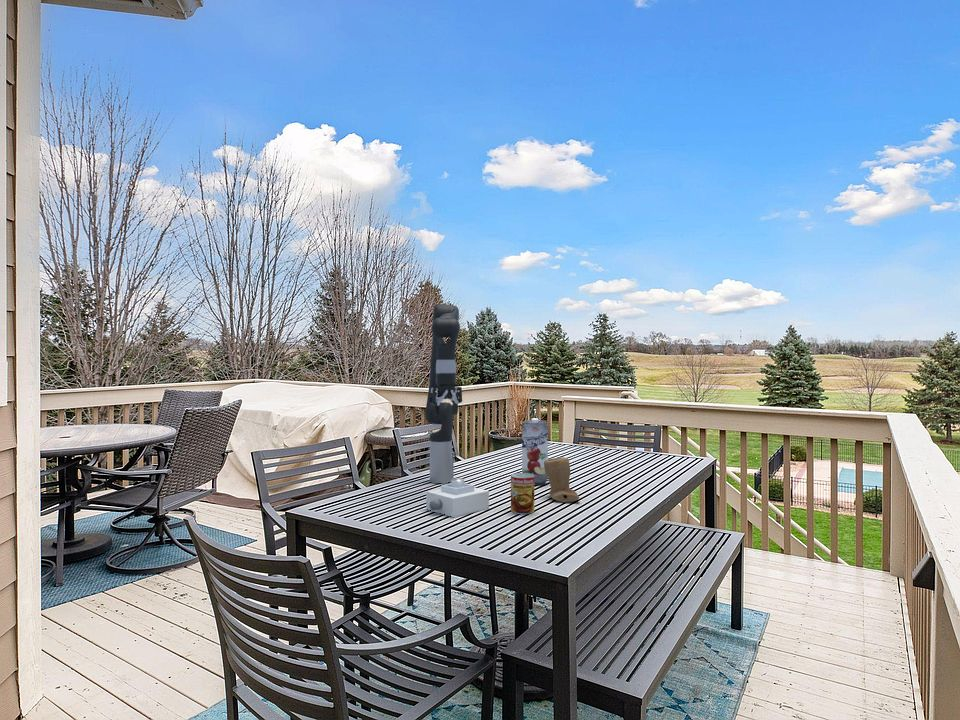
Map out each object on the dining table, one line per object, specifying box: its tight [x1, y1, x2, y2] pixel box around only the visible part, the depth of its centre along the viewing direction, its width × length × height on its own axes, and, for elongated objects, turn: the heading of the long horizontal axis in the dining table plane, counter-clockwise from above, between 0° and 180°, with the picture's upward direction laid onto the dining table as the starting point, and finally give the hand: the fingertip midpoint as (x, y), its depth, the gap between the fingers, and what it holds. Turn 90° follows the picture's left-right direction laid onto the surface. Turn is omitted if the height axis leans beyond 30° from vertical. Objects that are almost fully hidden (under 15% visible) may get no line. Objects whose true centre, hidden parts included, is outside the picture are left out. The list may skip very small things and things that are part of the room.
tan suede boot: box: [544, 456, 580, 503], centre depth 206 cm, size 15×12×15 cm
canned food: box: [510, 472, 535, 515], centre depth 189 cm, size 8×8×12 cm
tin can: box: [450, 477, 465, 488], centre depth 191 cm, size 4×4×10 cm
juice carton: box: [521, 417, 549, 486], centre depth 232 cm, size 9×10×27 cm
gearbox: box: [425, 482, 490, 518], centre depth 190 cm, size 19×14×8 cm
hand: (445, 415), depth 212 cm, fingers open, 8 cm apart
